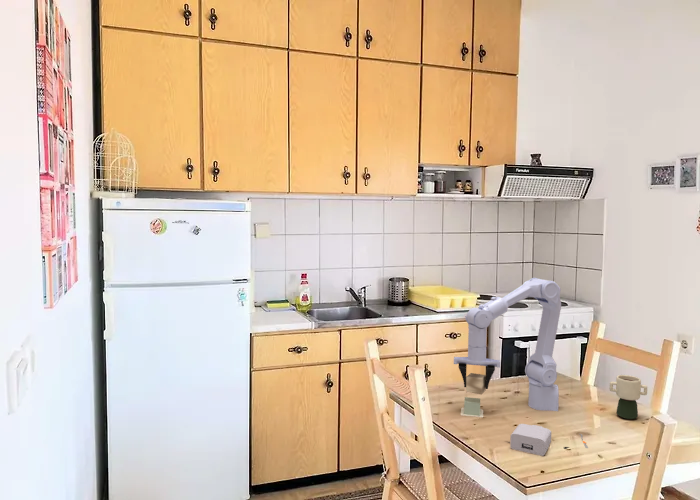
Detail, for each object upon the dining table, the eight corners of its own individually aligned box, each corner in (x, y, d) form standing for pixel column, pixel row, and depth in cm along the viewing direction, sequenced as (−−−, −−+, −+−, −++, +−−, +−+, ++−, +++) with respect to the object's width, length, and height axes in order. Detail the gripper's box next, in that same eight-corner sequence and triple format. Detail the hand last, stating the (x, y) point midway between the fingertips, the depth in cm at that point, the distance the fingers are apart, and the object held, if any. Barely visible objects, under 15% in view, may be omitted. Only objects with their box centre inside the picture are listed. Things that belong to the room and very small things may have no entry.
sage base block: (480, 410, 178) (480, 398, 177) (479, 415, 173) (480, 403, 173) (464, 408, 179) (464, 397, 179) (463, 414, 174) (464, 402, 174)
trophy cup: (644, 416, 177) (646, 377, 177) (647, 423, 171) (649, 383, 170) (607, 411, 181) (609, 373, 181) (609, 418, 175) (610, 378, 174)
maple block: (485, 390, 176) (486, 375, 176) (481, 394, 172) (481, 378, 171) (470, 387, 178) (470, 372, 178) (466, 392, 174) (466, 376, 174)
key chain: (559, 432, 164) (559, 429, 164) (585, 435, 161) (585, 433, 161) (561, 449, 152) (561, 446, 152) (590, 453, 149) (590, 450, 149)
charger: (555, 438, 159) (544, 457, 146) (523, 431, 164) (510, 449, 151) (555, 422, 159) (545, 440, 146) (523, 416, 164) (510, 432, 151)
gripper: (500, 344, 176) (498, 385, 177) (454, 341, 180) (453, 381, 181) (500, 349, 170) (499, 392, 170) (453, 346, 173) (452, 388, 174)
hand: (476, 387), depth 175 cm, fingers closed on maple block, 6 cm apart
